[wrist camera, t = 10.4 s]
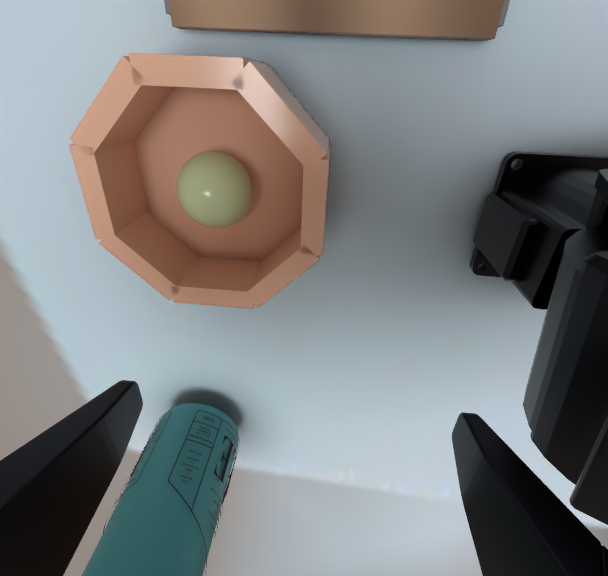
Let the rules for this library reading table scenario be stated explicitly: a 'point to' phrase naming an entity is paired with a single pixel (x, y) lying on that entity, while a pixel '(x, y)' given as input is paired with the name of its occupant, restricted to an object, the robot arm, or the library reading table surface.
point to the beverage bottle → (171, 498)
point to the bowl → (204, 177)
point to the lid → (344, 17)
